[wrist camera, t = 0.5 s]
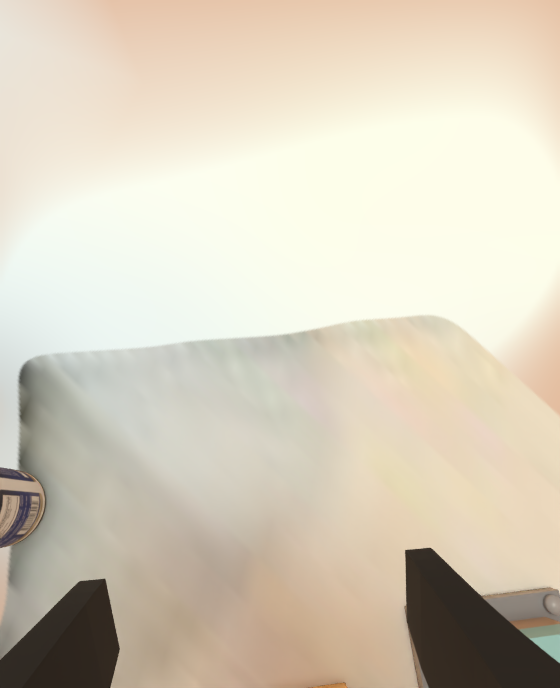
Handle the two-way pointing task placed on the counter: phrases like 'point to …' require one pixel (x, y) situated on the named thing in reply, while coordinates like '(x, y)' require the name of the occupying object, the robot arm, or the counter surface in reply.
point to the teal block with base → (523, 620)
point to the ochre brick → (332, 686)
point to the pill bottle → (19, 505)
